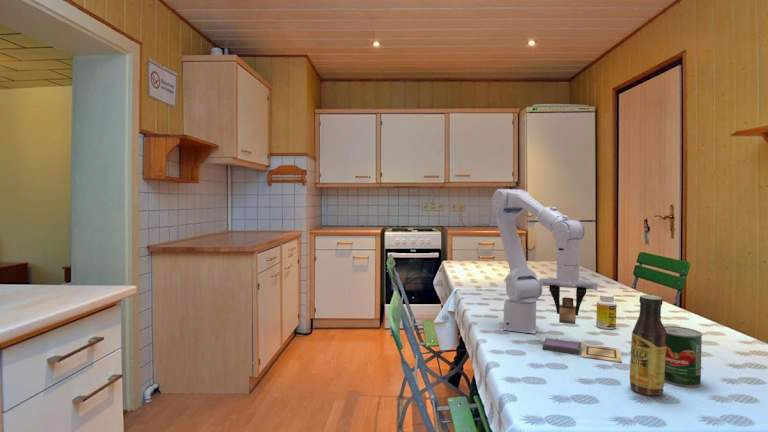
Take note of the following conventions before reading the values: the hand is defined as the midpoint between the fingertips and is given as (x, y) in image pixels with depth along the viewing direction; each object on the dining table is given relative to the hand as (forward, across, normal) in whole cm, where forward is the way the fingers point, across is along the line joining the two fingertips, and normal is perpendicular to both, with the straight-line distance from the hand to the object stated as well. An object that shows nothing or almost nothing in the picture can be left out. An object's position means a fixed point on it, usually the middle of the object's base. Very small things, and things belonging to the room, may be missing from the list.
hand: (567, 314), depth 124 cm
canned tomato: (+9, +24, -16) cm, 30 cm away
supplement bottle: (+9, +10, +25) cm, 28 cm away
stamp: (+2, 0, 0) cm, 2 cm away
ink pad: (+9, -1, -3) cm, 9 cm away
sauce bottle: (+9, +16, -26) cm, 32 cm away
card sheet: (+9, +8, -3) cm, 12 cm away
